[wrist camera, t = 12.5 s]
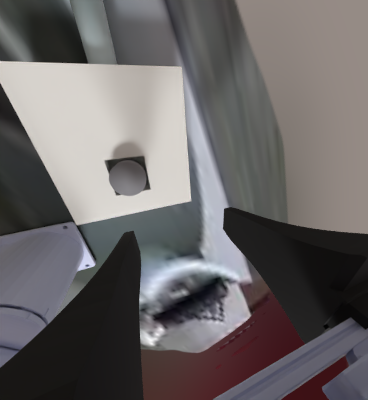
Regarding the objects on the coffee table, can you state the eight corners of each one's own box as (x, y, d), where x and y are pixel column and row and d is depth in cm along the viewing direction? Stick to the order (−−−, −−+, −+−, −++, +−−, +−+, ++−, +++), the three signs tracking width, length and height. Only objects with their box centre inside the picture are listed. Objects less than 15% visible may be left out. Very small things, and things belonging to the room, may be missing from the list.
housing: (180, 188, 20) (191, 200, 16) (91, 205, 17) (76, 225, 13) (170, 86, 14) (181, 66, 11) (39, 87, 12) (-12, 61, 8)
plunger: (118, 190, 14) (115, 198, 12) (109, 161, 12) (103, 164, 10) (148, 185, 14) (149, 192, 12) (142, 157, 13) (142, 159, 11)
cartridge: (135, 128, 15) (133, 123, 11) (108, 130, 14) (94, 125, 10) (82, -115, 9) (29, -352, 4) (31, -130, 8) (-88, -424, 4)
